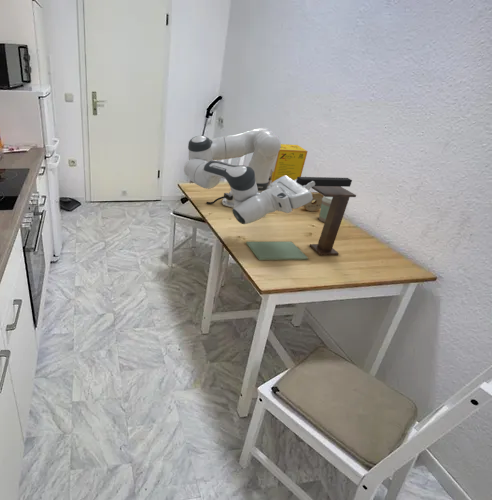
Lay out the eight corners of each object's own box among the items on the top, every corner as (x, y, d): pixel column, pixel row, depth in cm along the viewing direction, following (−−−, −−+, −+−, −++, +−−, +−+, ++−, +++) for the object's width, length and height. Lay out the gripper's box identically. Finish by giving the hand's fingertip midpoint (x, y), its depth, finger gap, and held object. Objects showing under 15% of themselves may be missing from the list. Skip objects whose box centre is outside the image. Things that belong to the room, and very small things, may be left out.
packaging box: (261, 183, 227) (270, 143, 215) (287, 185, 227) (297, 144, 215) (268, 192, 213) (278, 149, 201) (296, 193, 212) (307, 151, 201)
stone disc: (319, 209, 191) (324, 191, 187) (321, 212, 188) (327, 194, 183) (299, 208, 191) (304, 190, 187) (302, 211, 188) (307, 192, 183)
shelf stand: (306, 256, 143) (325, 194, 131) (294, 245, 152) (311, 185, 140) (339, 256, 145) (361, 195, 133) (325, 245, 154) (345, 186, 142)
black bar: (299, 185, 132) (301, 179, 131) (295, 183, 135) (297, 176, 134) (350, 186, 135) (352, 180, 133) (345, 184, 137) (347, 177, 136)
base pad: (259, 260, 139) (259, 258, 139) (246, 243, 151) (246, 241, 151) (307, 259, 142) (308, 257, 141) (290, 243, 154) (291, 241, 153)
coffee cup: (336, 224, 174) (344, 201, 168) (318, 222, 175) (325, 199, 170) (332, 218, 181) (339, 195, 176) (314, 216, 183) (321, 193, 177)
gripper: (267, 195, 146) (299, 179, 144) (290, 215, 128) (327, 197, 126) (262, 182, 143) (295, 165, 141) (285, 200, 125) (323, 181, 123)
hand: (310, 180), depth 133 cm, fingers closed on black bar, 3 cm apart
